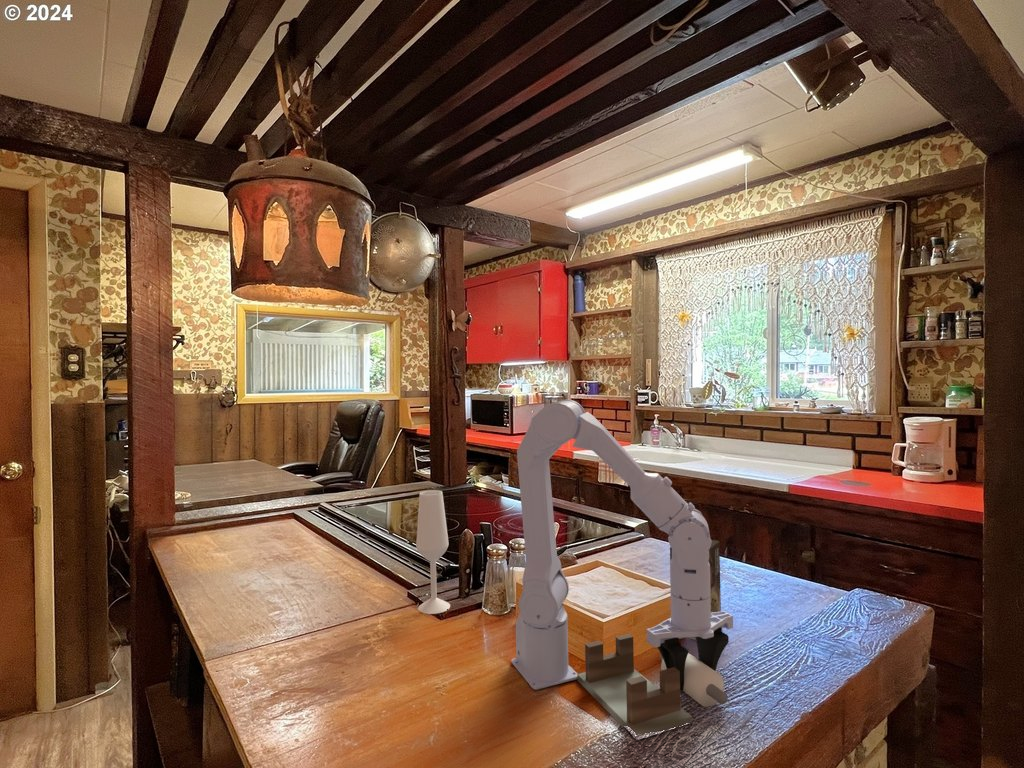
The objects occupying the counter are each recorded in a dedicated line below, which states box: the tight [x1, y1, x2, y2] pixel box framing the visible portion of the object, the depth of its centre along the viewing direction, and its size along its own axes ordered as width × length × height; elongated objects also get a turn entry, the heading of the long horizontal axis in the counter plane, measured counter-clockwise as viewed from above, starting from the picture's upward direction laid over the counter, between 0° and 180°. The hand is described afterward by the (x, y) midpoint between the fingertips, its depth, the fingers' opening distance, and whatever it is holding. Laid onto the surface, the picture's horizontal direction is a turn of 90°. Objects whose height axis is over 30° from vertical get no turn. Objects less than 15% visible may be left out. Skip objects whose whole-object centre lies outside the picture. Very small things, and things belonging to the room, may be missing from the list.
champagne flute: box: [415, 489, 451, 615], centre depth 117 cm, size 7×7×24 cm
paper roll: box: [659, 652, 728, 708], centre depth 85 cm, size 13×5×5 cm, turn 22°
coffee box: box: [669, 539, 722, 641], centre depth 105 cm, size 9×6×16 cm
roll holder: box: [576, 633, 693, 735], centre depth 83 cm, size 16×9×6 cm, turn 22°
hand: (691, 682), depth 85 cm, fingers closed on paper roll, 5 cm apart
